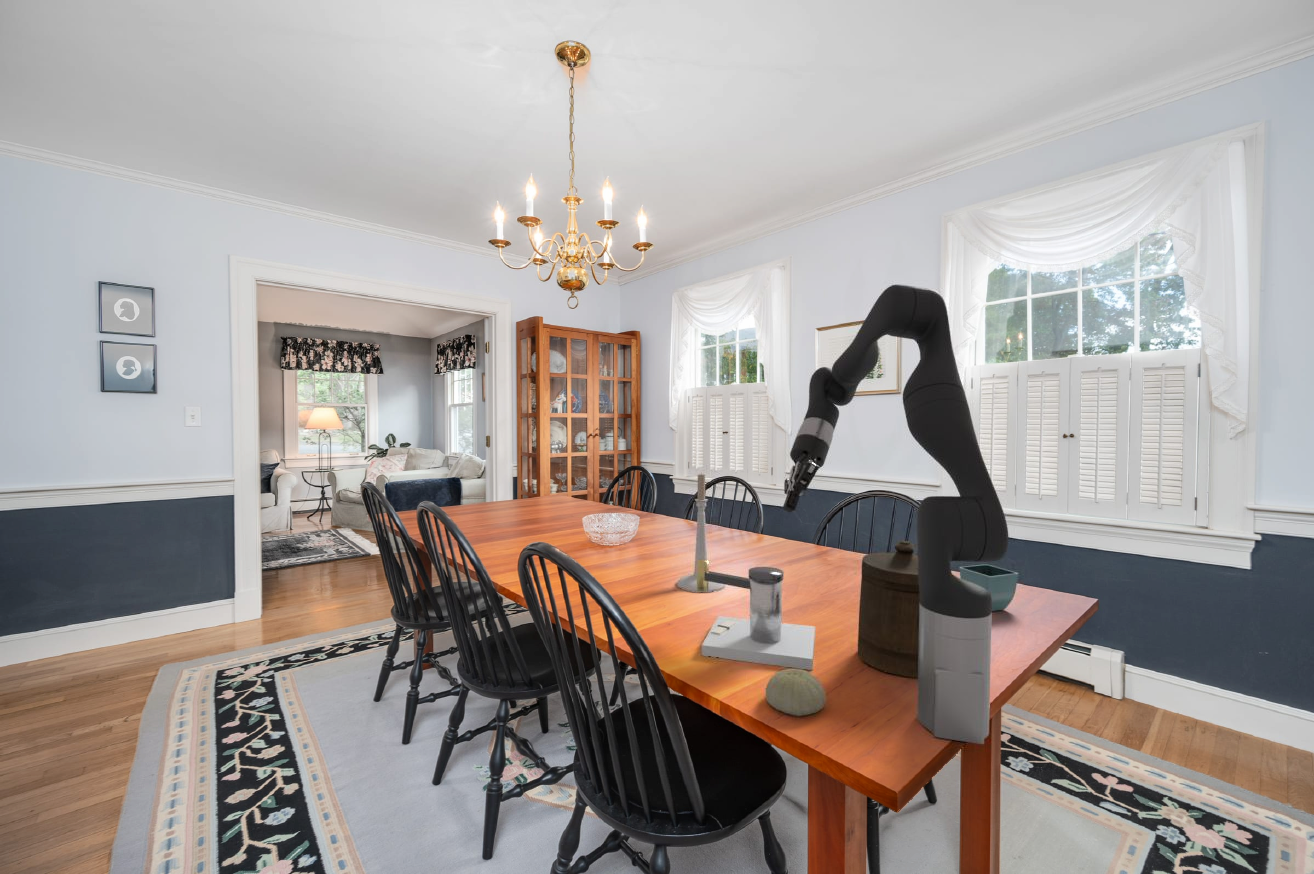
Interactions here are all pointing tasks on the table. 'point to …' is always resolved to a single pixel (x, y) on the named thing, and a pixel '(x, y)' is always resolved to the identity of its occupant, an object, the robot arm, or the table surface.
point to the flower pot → (992, 582)
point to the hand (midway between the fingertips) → (788, 509)
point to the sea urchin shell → (795, 692)
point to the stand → (760, 644)
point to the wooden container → (890, 611)
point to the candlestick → (699, 543)
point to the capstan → (753, 597)
